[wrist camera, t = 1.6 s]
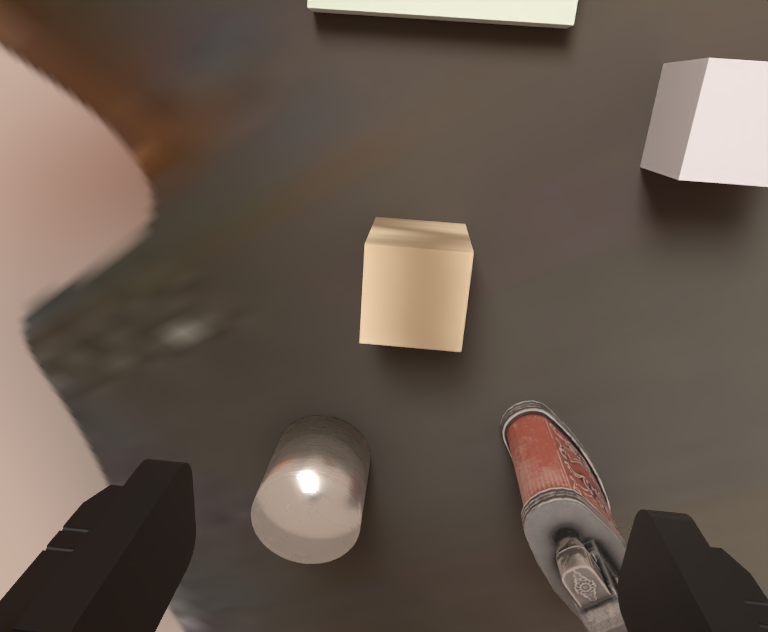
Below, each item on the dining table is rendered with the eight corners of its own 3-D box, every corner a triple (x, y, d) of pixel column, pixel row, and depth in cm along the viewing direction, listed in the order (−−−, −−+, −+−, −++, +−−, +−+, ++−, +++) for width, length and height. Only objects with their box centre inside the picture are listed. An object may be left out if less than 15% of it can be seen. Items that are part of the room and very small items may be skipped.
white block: (639, 166, 24) (678, 180, 20) (662, 63, 23) (709, 57, 19) (735, 174, 24) (792, 188, 20) (765, 70, 23) (832, 66, 19)
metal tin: (277, 489, 31) (251, 558, 27) (277, 410, 30) (249, 469, 25) (367, 498, 31) (357, 568, 27) (373, 419, 29) (363, 480, 25)
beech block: (370, 300, 27) (359, 342, 22) (376, 216, 26) (364, 243, 21) (455, 307, 27) (461, 351, 22) (465, 223, 25) (473, 252, 21)
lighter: (485, 420, 29) (513, 574, 20) (544, 388, 28) (603, 534, 19) (562, 529, 31) (620, 714, 22) (619, 502, 30) (706, 683, 21)
